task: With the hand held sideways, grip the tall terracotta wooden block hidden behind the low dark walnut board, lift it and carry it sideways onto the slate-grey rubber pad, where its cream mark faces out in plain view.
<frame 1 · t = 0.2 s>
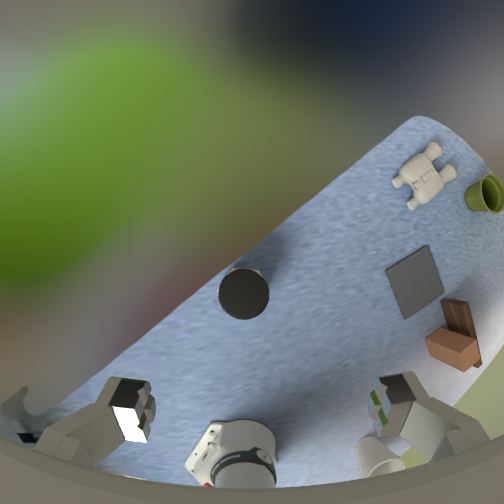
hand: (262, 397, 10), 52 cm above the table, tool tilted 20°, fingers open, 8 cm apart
jar: (243, 287, 63), on the table
slate pad: (415, 282, 64), on the table
foam cup: (365, 446, 63), on the table
marked block: (435, 341, 64), on the table
binoculars: (419, 178, 65), on the table
low board: (451, 329, 64), on the table
plant pot: (471, 199, 65), on the table
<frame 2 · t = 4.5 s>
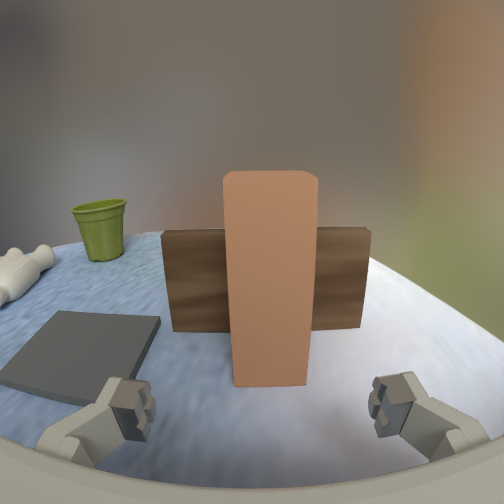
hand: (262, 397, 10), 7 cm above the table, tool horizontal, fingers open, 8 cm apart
slate pad: (80, 354, 24), on the table
marked block: (269, 365, 23), on the table
binoculars: (11, 291, 36), on the table
low board: (267, 327, 28), on the table
plant pot: (105, 257, 48), on the table
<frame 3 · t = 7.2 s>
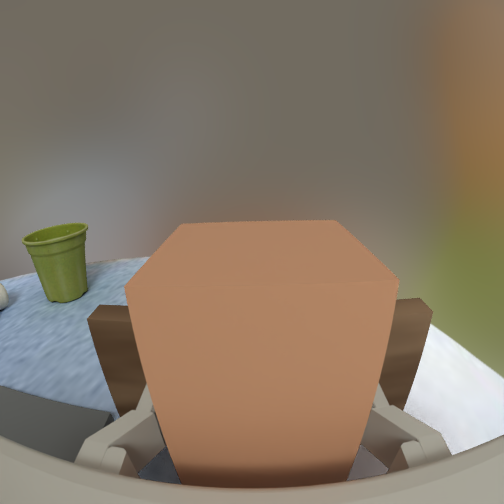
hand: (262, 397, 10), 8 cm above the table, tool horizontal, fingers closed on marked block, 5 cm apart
slate pad: (13, 459, 12), on the table
low board: (262, 436, 17), on the table
plant pot: (67, 295, 37), on the table
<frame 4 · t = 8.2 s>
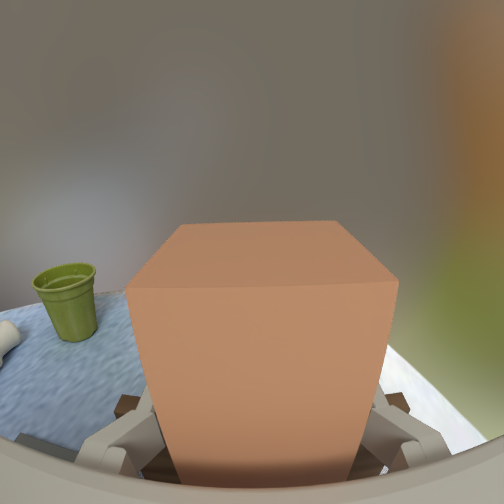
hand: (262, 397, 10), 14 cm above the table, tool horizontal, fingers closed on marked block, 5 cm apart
low board: (261, 487, 19), on the table
plant pot: (77, 333, 39), on the table
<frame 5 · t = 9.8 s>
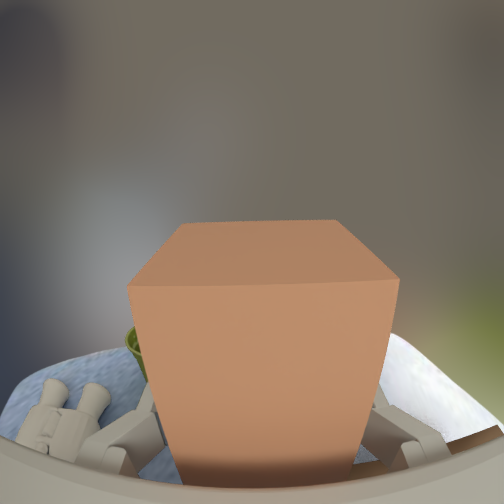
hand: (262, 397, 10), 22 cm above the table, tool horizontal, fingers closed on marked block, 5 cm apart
binoculars: (65, 444, 28), on the table
plant pot: (170, 387, 41), on the table
when the fingers open (10 cm above the table, at t = 12.7 s): marked block drops 1 cm, resting on slate pad.
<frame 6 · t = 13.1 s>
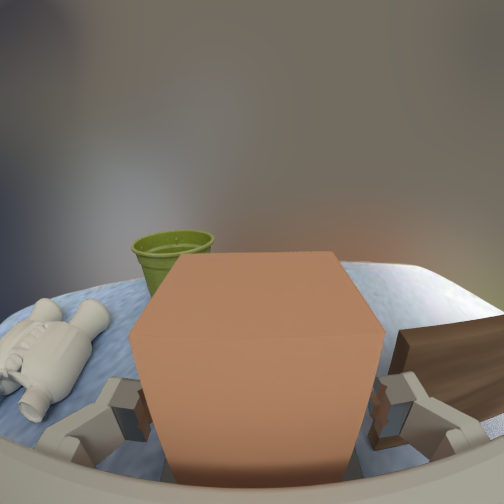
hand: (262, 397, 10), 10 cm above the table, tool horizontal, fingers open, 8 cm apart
binoculars: (49, 371, 25), on the table
low board: (467, 418, 18), on the table
plant pot: (180, 310, 38), on the table
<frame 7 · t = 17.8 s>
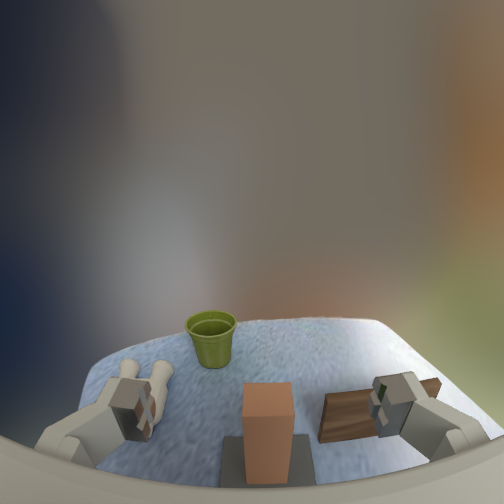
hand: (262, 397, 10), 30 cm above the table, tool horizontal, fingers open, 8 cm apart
slate pad: (267, 472, 34), on the table
marked block: (266, 469, 34), point 1 cm above the table, touching slate pad
binoculars: (140, 406, 46), on the table
low board: (373, 432, 39), on the table
plant pot: (214, 360, 59), on the table
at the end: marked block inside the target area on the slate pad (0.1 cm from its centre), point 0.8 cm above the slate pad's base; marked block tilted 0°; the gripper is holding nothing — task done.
